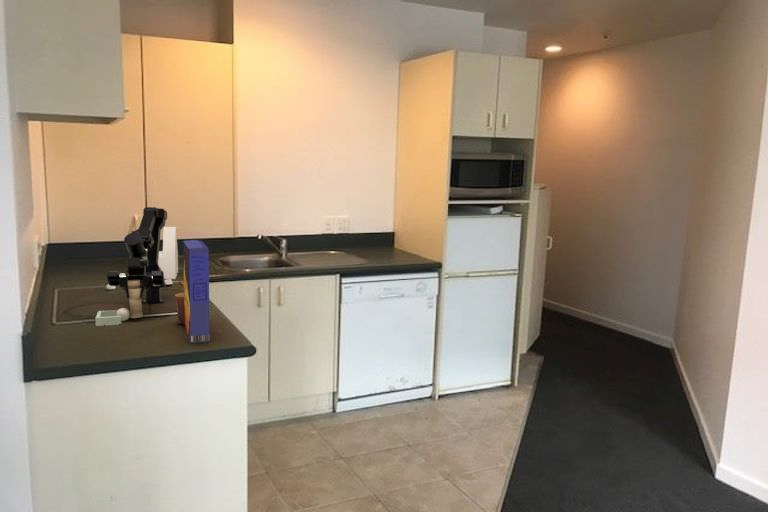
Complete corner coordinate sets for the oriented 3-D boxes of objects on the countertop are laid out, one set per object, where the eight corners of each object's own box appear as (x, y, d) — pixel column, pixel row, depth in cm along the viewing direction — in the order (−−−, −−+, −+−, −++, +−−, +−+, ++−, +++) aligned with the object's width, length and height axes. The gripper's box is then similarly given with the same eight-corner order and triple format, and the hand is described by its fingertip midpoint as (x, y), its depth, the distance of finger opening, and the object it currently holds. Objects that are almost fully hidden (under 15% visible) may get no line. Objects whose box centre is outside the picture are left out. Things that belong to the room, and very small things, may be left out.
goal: (98, 318, 218) (98, 310, 217) (123, 317, 220) (122, 309, 220) (95, 326, 208) (95, 317, 207) (121, 324, 210) (120, 316, 210)
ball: (128, 322, 217) (115, 321, 216) (131, 310, 219) (117, 308, 217) (128, 320, 213) (114, 319, 212) (131, 307, 215) (117, 306, 213)
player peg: (129, 316, 217) (126, 280, 215) (141, 314, 219) (138, 279, 218) (131, 318, 214) (129, 282, 212) (144, 316, 216) (141, 280, 214)
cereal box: (184, 326, 210) (183, 240, 206) (202, 325, 212) (201, 239, 208) (189, 343, 190) (188, 247, 186) (209, 341, 192) (208, 247, 188)
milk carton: (146, 273, 316) (145, 225, 313) (178, 272, 320) (177, 225, 317) (142, 279, 298) (140, 228, 295) (175, 279, 302) (174, 228, 299)
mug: (184, 327, 209) (183, 298, 207) (170, 323, 214) (169, 294, 213) (214, 321, 218) (214, 293, 216) (200, 317, 223) (199, 290, 222)
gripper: (106, 248, 215) (101, 285, 206) (162, 248, 219) (160, 284, 210) (111, 267, 223) (107, 303, 214) (165, 266, 228) (163, 301, 219)
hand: (134, 297), depth 214 cm, fingers closed on player peg, 4 cm apart
